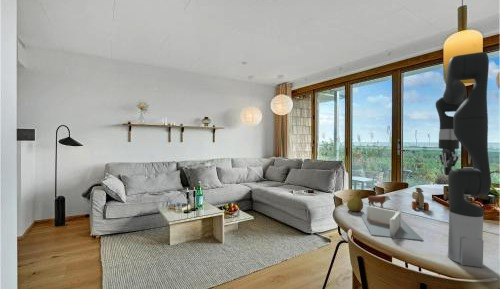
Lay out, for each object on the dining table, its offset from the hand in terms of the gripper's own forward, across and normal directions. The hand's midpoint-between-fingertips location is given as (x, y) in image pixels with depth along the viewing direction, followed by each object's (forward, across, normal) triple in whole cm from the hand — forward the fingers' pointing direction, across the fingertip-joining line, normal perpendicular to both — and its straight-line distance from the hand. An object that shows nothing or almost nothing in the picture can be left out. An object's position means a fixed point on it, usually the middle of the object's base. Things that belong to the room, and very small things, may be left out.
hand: (447, 174), depth 115 cm
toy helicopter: (+27, -43, +2) cm, 51 cm away
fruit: (+27, -22, -38) cm, 52 cm away
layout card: (+27, +1, -26) cm, 37 cm away
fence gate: (+26, -2, -28) cm, 39 cm away
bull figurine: (+27, -36, -22) cm, 50 cm away
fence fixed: (+27, +9, -24) cm, 37 cm away
